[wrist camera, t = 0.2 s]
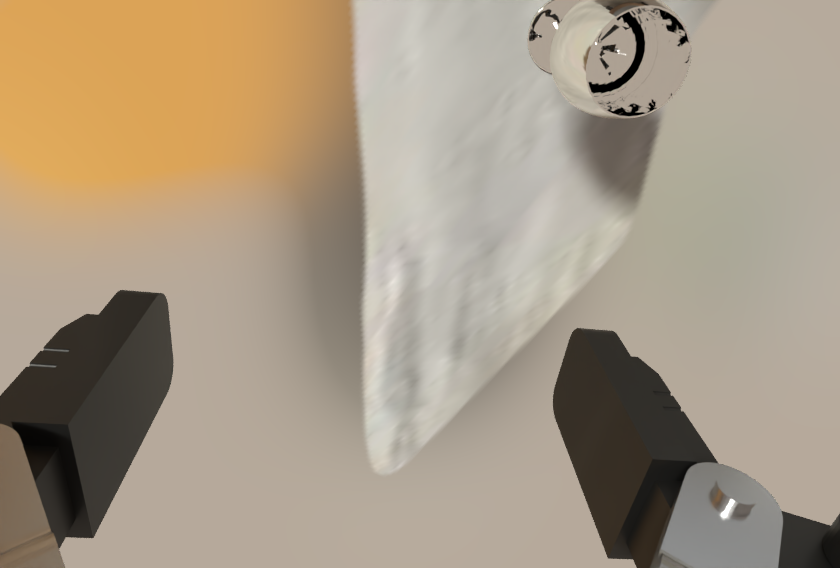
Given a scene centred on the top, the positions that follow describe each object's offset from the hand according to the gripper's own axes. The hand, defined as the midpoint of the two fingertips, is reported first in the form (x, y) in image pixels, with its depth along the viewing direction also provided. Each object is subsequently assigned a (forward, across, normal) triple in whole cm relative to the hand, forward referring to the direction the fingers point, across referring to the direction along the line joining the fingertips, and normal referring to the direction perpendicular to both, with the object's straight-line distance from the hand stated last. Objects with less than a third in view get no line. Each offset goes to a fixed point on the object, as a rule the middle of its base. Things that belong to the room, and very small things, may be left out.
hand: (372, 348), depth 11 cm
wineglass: (+28, -11, -4) cm, 31 cm away
